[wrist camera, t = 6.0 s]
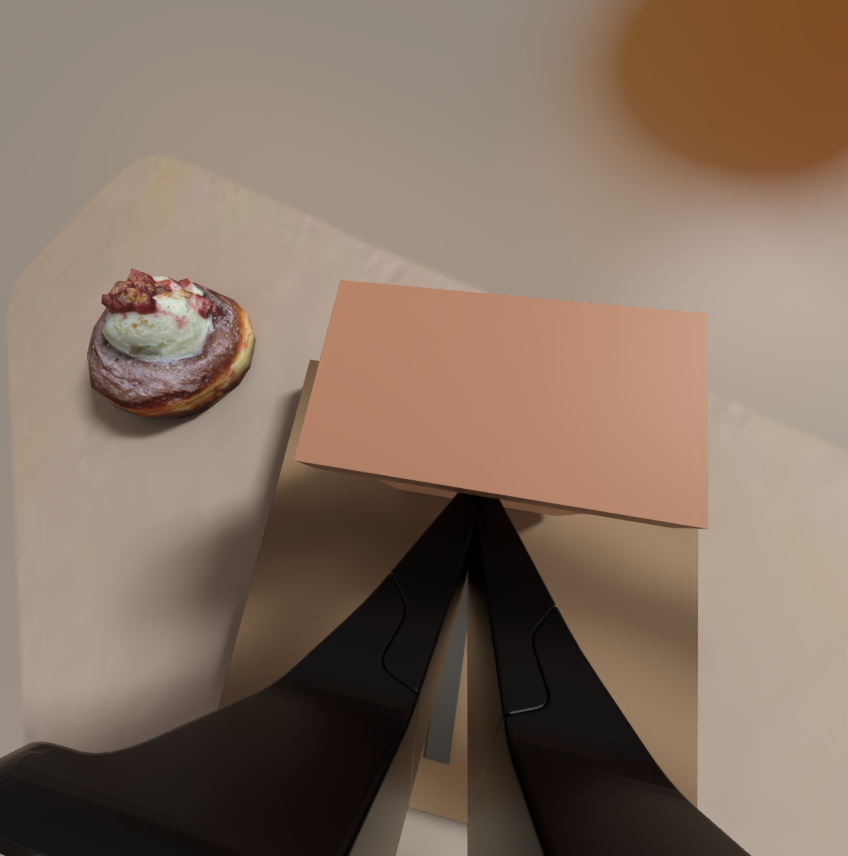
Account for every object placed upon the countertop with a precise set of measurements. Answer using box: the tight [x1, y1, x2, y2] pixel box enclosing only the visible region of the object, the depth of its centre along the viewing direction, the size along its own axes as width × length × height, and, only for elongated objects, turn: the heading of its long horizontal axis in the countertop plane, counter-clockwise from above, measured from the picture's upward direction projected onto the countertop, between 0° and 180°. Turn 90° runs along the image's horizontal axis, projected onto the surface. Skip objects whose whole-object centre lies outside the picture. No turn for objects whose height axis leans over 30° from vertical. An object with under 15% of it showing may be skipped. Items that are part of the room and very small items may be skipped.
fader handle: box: [294, 280, 708, 529], centre depth 10 cm, size 4×7×8 cm, turn 80°
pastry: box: [87, 268, 256, 418], centre depth 17 cm, size 8×8×5 cm
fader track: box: [218, 360, 698, 824], centre depth 15 cm, size 15×16×2 cm
